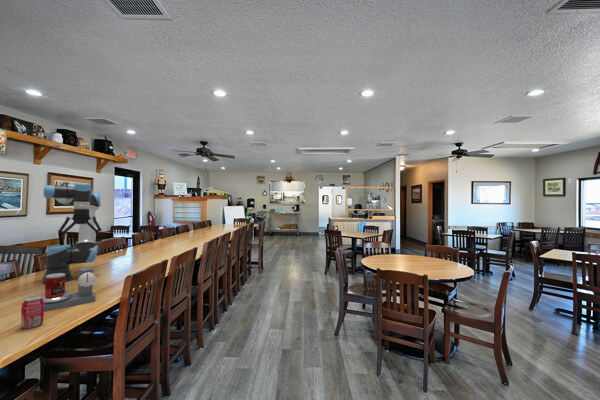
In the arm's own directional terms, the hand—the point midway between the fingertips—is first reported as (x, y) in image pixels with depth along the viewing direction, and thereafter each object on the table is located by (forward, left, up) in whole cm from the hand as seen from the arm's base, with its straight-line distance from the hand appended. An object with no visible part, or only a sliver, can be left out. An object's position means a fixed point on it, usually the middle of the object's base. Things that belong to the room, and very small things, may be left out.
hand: (80, 243), depth 159 cm
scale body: (+18, -8, -29) cm, 35 cm away
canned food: (+18, -12, -24) cm, 32 cm away
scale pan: (+18, -12, -26) cm, 34 cm away
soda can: (+41, -21, -29) cm, 54 cm away
